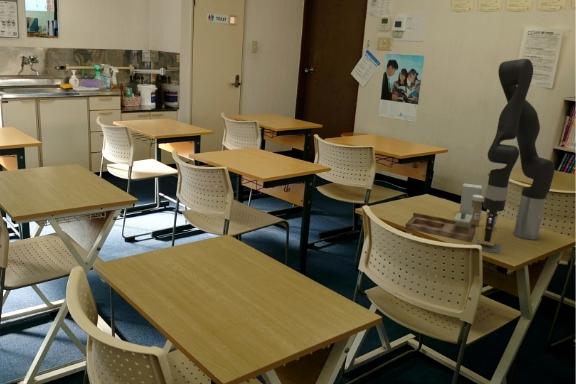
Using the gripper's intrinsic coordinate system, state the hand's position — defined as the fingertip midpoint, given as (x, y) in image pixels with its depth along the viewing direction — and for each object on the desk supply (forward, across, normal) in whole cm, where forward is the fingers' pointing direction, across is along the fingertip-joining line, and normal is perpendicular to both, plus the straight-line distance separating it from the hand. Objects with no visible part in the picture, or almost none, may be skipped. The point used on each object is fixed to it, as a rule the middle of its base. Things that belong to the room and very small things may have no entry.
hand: (487, 239), depth 200 cm
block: (+1, 0, 0) cm, 1 cm away
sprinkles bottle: (+3, -25, -8) cm, 26 cm away
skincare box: (+3, -38, -12) cm, 40 cm away
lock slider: (+1, -8, -11) cm, 13 cm away
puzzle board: (+3, -6, -19) cm, 20 cm away
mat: (+3, 0, 0) cm, 3 cm away
